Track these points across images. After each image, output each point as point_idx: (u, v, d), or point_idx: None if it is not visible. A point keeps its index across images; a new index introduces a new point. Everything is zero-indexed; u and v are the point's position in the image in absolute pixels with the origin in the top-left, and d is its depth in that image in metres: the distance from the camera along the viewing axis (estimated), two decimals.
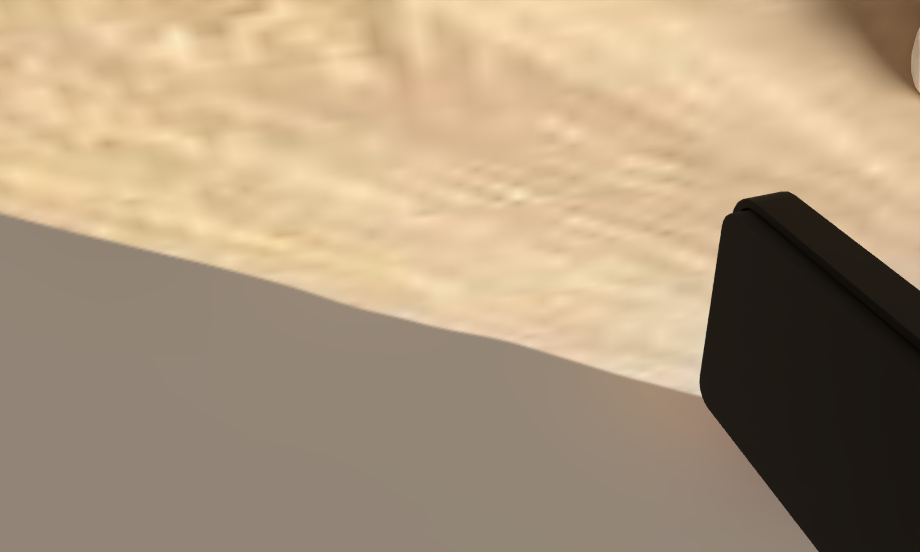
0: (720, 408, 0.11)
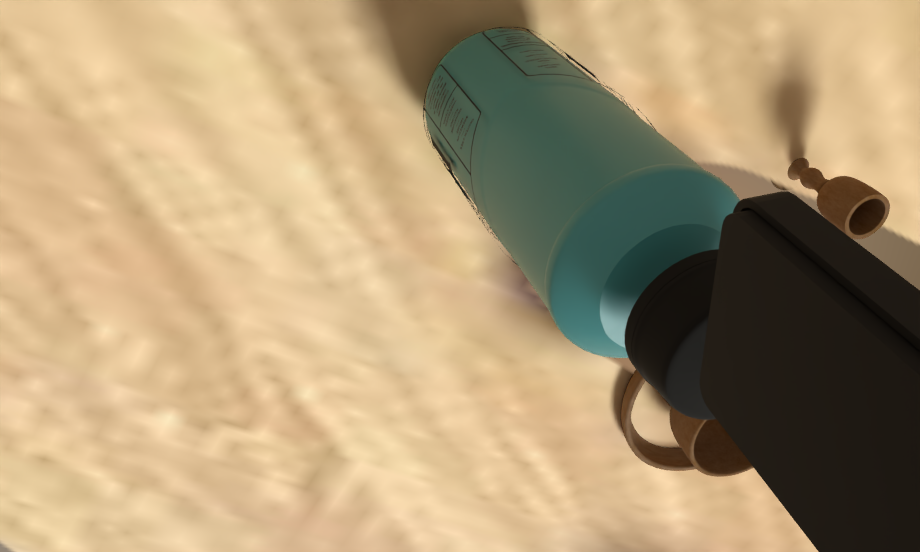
0: (720, 408, 0.11)
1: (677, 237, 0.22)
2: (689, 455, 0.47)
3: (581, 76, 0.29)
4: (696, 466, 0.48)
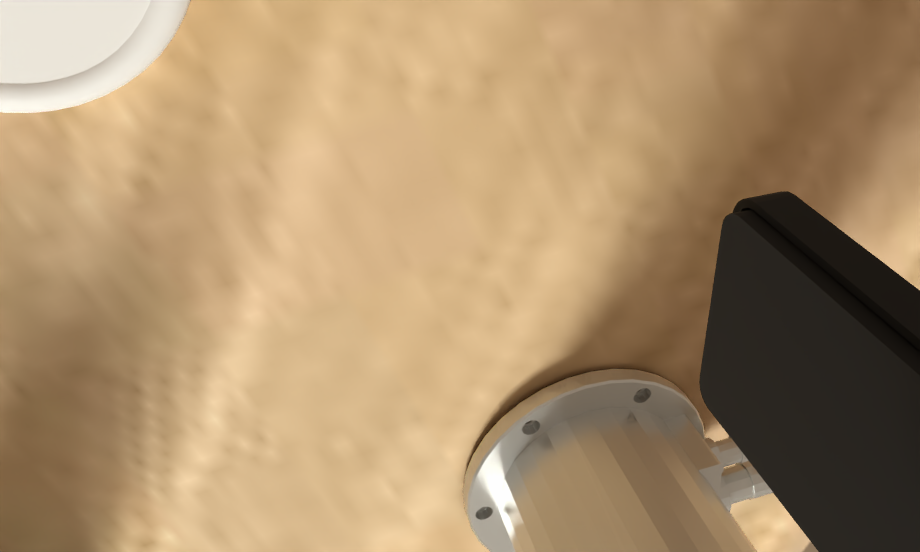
0: (720, 408, 0.11)
1: None
2: None
3: None
4: None
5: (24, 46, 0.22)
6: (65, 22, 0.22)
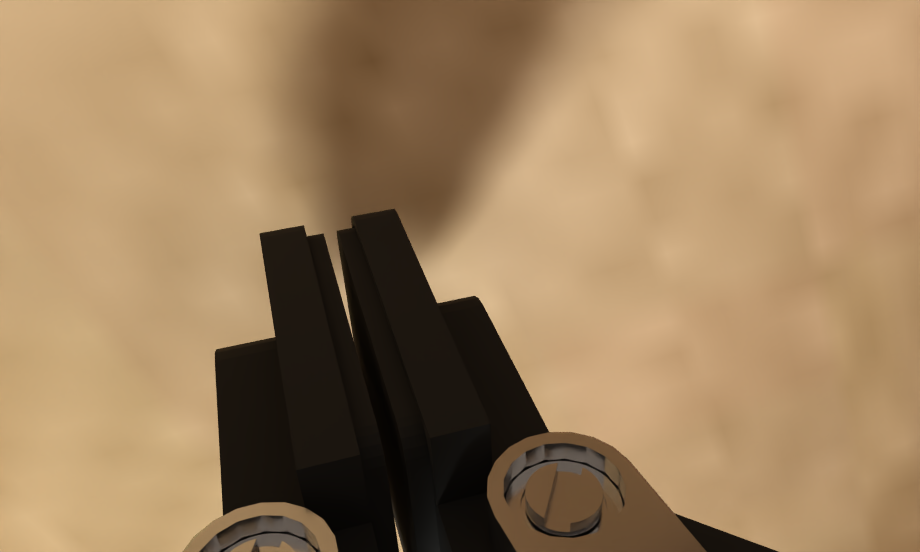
0: None
1: None
2: None
3: None
4: None
5: None
6: None
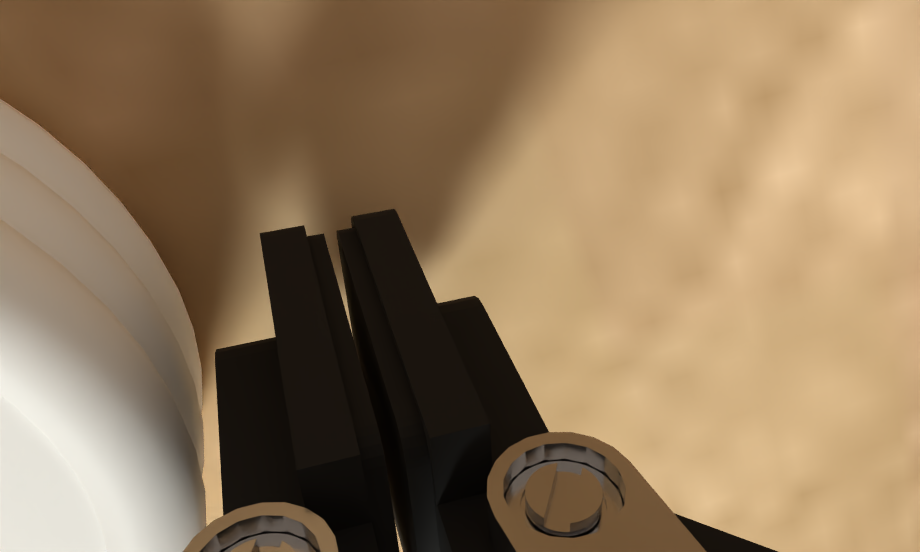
0: None
1: None
2: None
3: None
4: None
5: None
6: None
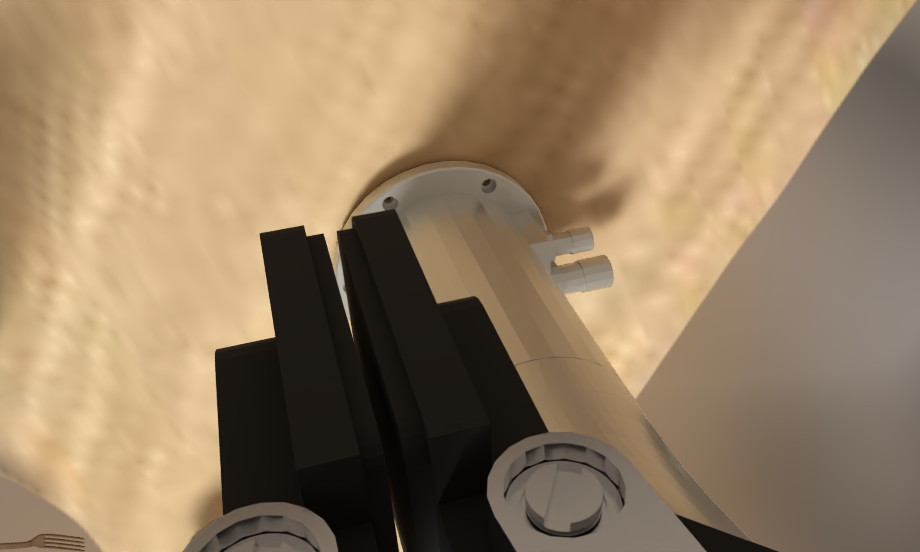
0: None
1: None
2: None
3: None
4: None
5: None
6: None
